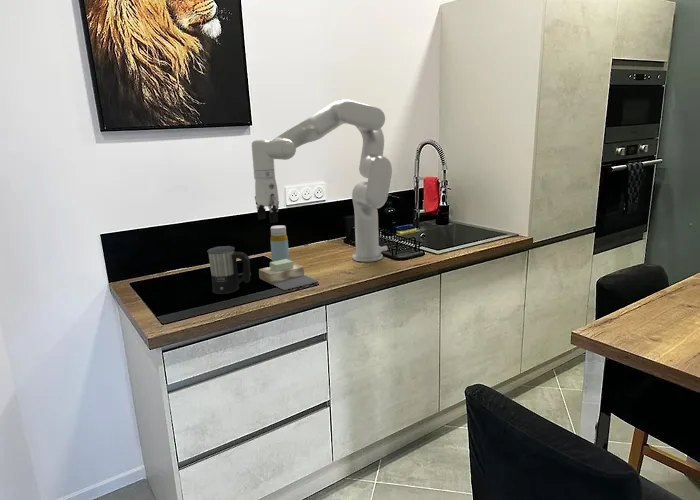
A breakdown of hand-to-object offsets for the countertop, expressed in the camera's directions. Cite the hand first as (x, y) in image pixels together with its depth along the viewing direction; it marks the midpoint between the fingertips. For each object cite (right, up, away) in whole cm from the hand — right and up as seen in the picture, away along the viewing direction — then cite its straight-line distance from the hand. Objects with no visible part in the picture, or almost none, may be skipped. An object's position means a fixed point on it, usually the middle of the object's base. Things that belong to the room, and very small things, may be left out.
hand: (268, 220), depth 180 cm
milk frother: (-11, -24, -9) cm, 28 cm away
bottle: (+2, -16, +20) cm, 26 cm away
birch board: (+5, -21, 0) cm, 22 cm away
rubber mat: (+11, -23, -8) cm, 26 cm away
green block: (+5, -17, -2) cm, 17 cm away
